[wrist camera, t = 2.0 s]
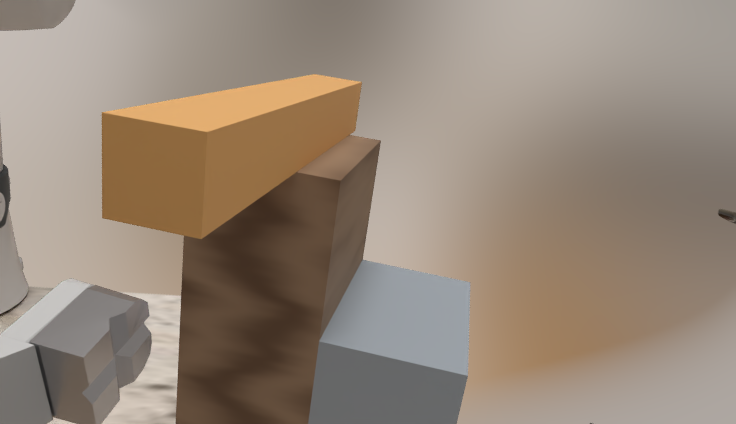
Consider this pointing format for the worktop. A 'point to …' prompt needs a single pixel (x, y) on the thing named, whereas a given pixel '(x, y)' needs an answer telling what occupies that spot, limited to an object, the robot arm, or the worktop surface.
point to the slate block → (394, 350)
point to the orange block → (218, 150)
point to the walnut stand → (272, 292)
